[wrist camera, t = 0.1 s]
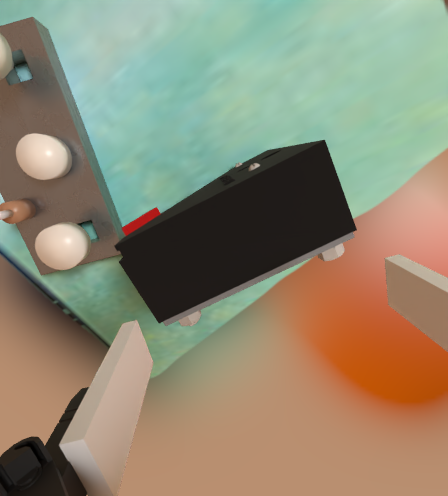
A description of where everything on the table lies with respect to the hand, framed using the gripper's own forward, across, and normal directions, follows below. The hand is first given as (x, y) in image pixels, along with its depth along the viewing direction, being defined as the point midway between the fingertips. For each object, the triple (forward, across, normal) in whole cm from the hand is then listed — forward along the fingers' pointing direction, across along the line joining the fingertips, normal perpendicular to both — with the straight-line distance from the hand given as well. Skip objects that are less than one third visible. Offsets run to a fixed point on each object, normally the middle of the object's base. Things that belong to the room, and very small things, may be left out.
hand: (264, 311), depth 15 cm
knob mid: (+27, -19, +13) cm, 36 cm away
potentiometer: (+25, -25, +8) cm, 36 cm away
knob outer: (+23, -19, +3) cm, 30 cm away
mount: (+28, -21, +13) cm, 37 cm away
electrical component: (+28, 0, +1) cm, 28 cm away
